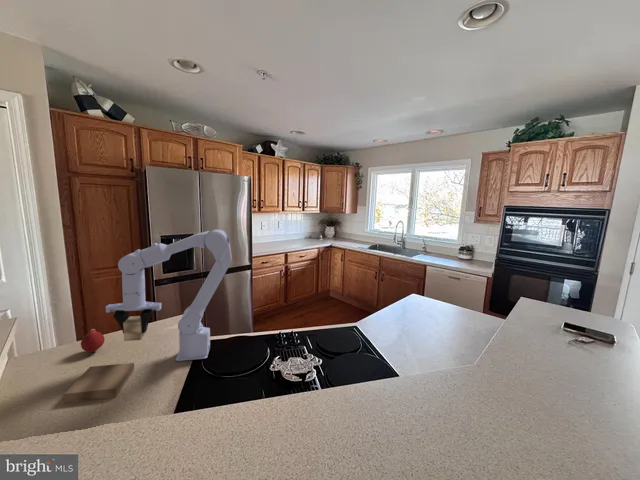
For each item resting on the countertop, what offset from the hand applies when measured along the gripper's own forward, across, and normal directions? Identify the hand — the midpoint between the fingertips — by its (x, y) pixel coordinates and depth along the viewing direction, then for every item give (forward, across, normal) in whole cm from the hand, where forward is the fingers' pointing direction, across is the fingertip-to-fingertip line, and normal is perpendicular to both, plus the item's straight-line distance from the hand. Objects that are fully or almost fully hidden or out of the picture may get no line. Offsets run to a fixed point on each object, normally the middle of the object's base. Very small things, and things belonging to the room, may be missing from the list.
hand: (135, 332), depth 81 cm
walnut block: (+10, +4, +12) cm, 16 cm away
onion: (+10, +15, -6) cm, 19 cm away
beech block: (+2, 0, 0) cm, 2 cm away
